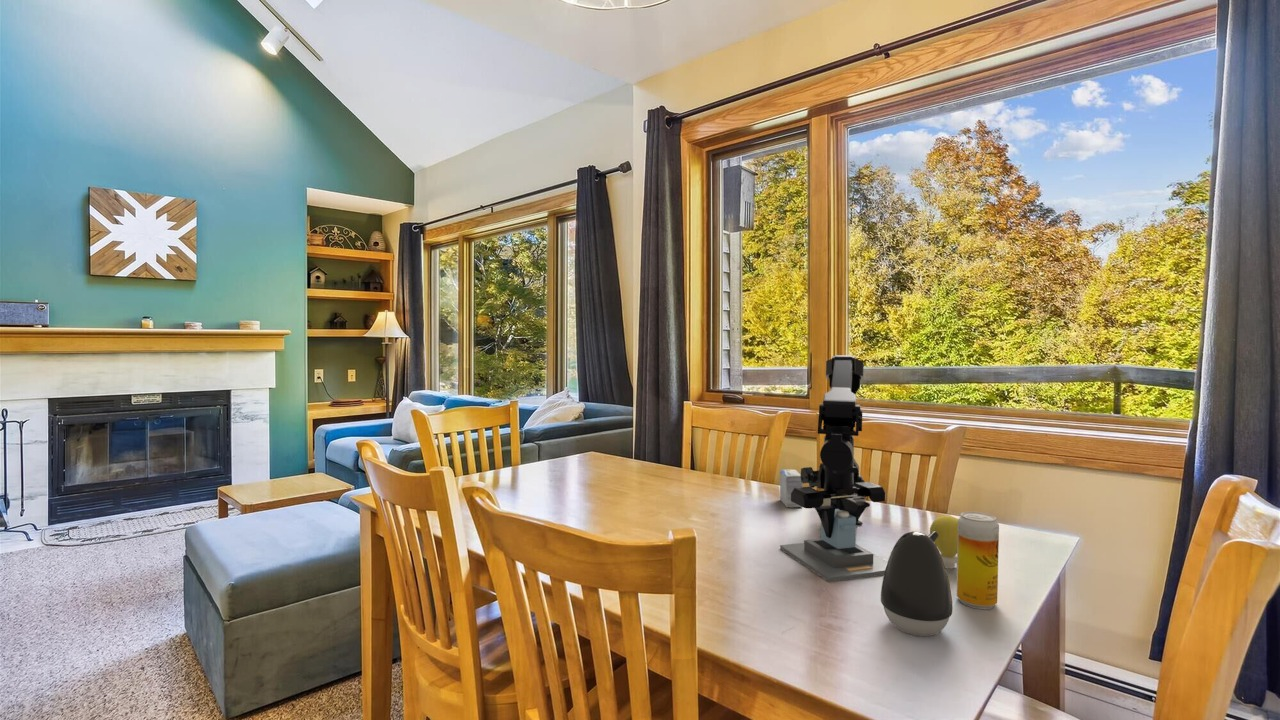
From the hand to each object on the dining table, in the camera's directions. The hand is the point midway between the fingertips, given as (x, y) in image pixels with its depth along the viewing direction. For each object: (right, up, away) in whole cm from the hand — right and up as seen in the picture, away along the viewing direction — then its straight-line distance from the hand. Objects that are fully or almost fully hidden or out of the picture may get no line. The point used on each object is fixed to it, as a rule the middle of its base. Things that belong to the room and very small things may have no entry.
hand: (837, 536), depth 122 cm
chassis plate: (0, -5, 0) cm, 5 cm away
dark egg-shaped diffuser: (+3, -6, -28) cm, 29 cm away
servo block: (0, -1, 0) cm, 1 cm away
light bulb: (+21, -5, -3) cm, 22 cm away
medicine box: (+1, -3, +41) cm, 41 cm away
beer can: (+17, -6, -19) cm, 27 cm away
